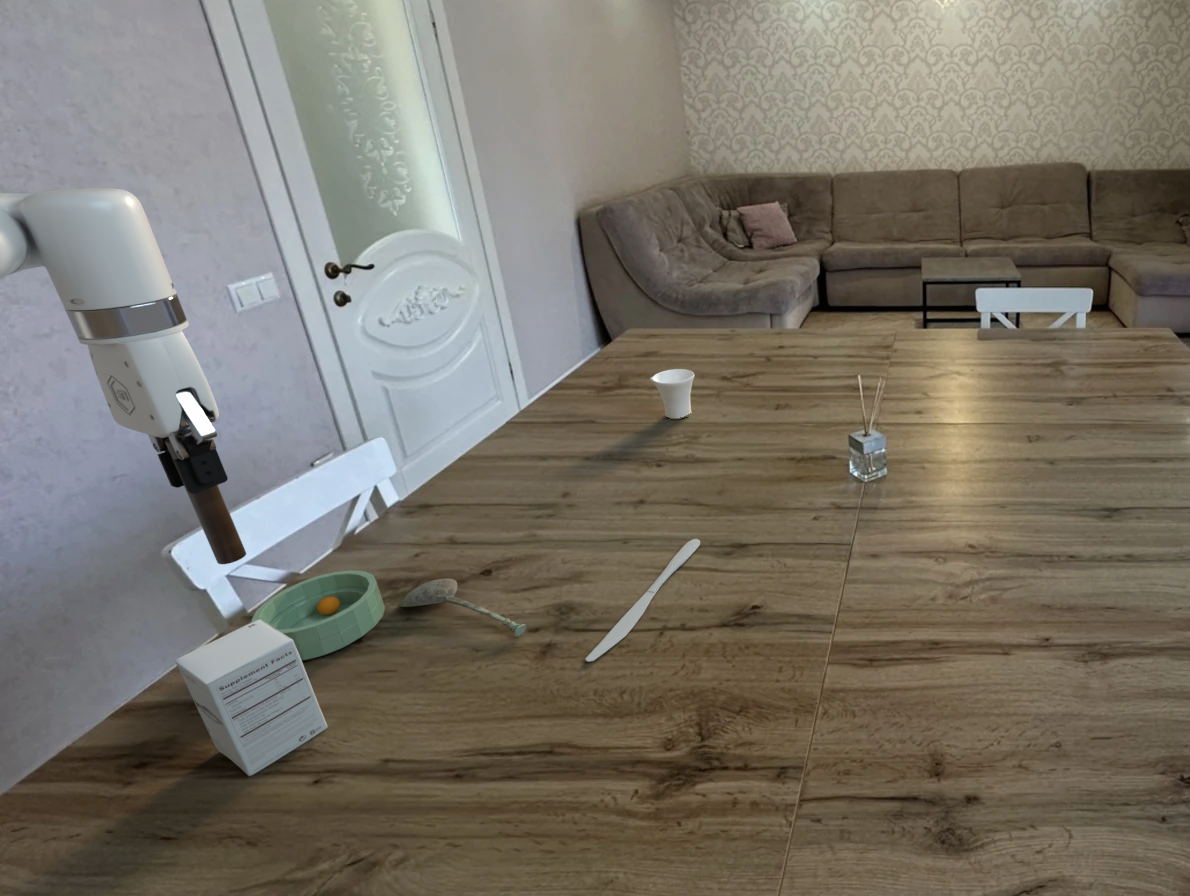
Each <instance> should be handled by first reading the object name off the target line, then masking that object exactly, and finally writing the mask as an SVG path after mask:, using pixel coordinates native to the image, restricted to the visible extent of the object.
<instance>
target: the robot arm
mask: <svg viewBox="0 0 1190 896" xmlns="http://www.w3.org/2000/svg"><path fill="white" fill-rule="evenodd" d="M42 267H44V268H45V269H46V271H47V273H48V276H49V277H50V280H51V282H52V284H53V286H54V288H55V291H56V293H57V296H58V297H59V299H60V301H61V305H62V306H63V309H64V311H65V313H66V316H67V317H68V320H69V322H70V324H71V327H72V328H73V330H74V332H75V336H76V337H77V340H78V342H79V343H80V344H81V345H87V348H88V349H87V350H88V353H89V356H90V359H91V363H92V365H93V369H94V371H95V374H96V378H97V380H98V382H99V385H100V387H101V391H102V393H103V395H104V398H105V401H106V403H107V405H108V408H109V411H110V413H111V416H112V418H113V420H114V421H115V423H116V424H117V425H119V426H121V427H122V428H123V427H124V428H127V429H129V430H132V431H134V432H138V433H141V434H145V435H147V436H148V438H149V440H150V442H151V445H152V447H153V449H154V451H156V453H157V454H156V455H157V457H158V460H159V462H160V464H161V467H162V468H163V471H164V473H165V475H166V478H167V479H168V483H169V484H170V486H171V487H174V488H177V489H178V488H182V487H184V485H185V487H186V489H187V491H188V492H190V493H197V492H200V491H203V490H205V489H208V488H211V487H213V486H216V485H218V486H219V485H222V484H223V483H226V482H227V481H228V475H227V473H226V470H225V468H224V466H223V465H224V464H223V463H222V461H221V460H222V459H221V458H220V455H219V452H218V451H217V445H216V442H215V440H214V439H216V438H217V437H218V432H217V431H216V429H215V428H214V426H213V425H212V424H213V423H215V422H216V421H217V420H218V419H219V417H220V412H219V408H218V404H217V402H216V398H215V396H214V393H213V391H212V389H211V386H210V384H209V382H208V379H207V377H206V375H205V373H204V370H203V368H202V367H201V364H200V362H199V361H198V358H197V356H196V354H195V351H194V350H193V348H192V347H191V345H190V343H189V341H188V339H187V337H186V335H185V333H184V332H183V330H185V329H187V328H189V326H190V323H189V321H188V320H189V319H187V316H186V314H185V311H184V308H183V306H182V303H181V300H180V298H179V296H178V292H177V290H176V288H175V286H174V283H173V281H172V278H171V276H170V273H169V271H168V268H167V266H166V262H165V259H164V258H163V255H162V252H161V250H160V248H159V245H158V242H157V239H156V238H155V235H154V232H153V230H152V227H151V225H150V222H149V219H148V217H147V214H146V212H145V209H144V208H143V205H142V203H141V201H140V200H139V198H138V197H136V195H135V194H133V193H132V192H130V191H127V190H125V189H122V188H116V187H115V188H114V187H83V188H67V189H55V190H54V189H53V190H45V191H39V192H35V193H11V192H10V193H9V192H8V193H5V192H0V281H2V280H3V279H5V278H7V277H8V276H11V275H13V274H17V273H19V272H21V271H24V270H25V271H26V270H29V269H35V268H42ZM188 433H191V435H189V436H186V437H185V439H184V442H183V440H182V438H181V435H184V434H188ZM168 438H169V439H170V442H171V444H172V446H173V448H174V450H175V453H176V455H177V456H178V459H175V460H174V462H175V464H176V466H177V469H178V471H179V473H180V475H181V478H182V480H183V482H184V485H183V482H182V480H181V478H180V475H179V473H178V471H177V469H176V466H175V464H174V462H173V459H172V457H171V455H170V452H169V450H168V448H167V446H166V443H165V440H166V439H168ZM185 487H184V488H185ZM186 489H185V490H186Z"/></svg>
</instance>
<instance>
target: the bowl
mask: <svg viewBox="0 0 1190 896" xmlns="http://www.w3.org/2000/svg"><path fill="white" fill-rule="evenodd" d="M326 597H336V598H337V599H338V600H339V601H340V607H339V609H338V610H337V611H336V612H335V613H333V614H331V615H322V614H320V613H319V612H318V610H317V606H318V603H319V602H320V601H321V600H322V599H324V598H326ZM385 610H386V606H385V603H384V600H383V596H382V594H381V591H380V588H379V585H378V582H377V580H376V578H375V576H374V574H372V573H369V572H367V571H364V570H353V569H352V570H351V569H350V570H343V571H341V570H340V571H334V572H329V573H325V574H321V575H317V576H313V577H311V578H308V579H306V580H303V581H300V582H298V583H296V584H293V585H291V586H289V587H287V588H285V589H283V590H281V591H279V592H278V593H276V594H275V595H273V596H272V597H270V598H268V599H267V600H265V602H264V603H263V604H262V605H260V606H259V607H258V609H256V610H255V612H254V614H253V615H252V618H251V620H250V623H252V622H254V621H257V620H260V619H261V620H262V621H263V622H265V623H267V624H268V625H270V626H272V627H273V628H275V629H277V630H278V631H280V632H281V633H283V634H284V635H286V636H288V637H289V638H291V639H292V640H293V641H294V644H295V646H296V648H297V650H298V653H299V655H300V658H301V660H302V661H307V660H311V659H315V658H319V657H323V656H327V655H328V654H332V653H334V652H337V651H338V650H341V649H343V648H345V647H347V646H349V645H351V644H352V643H355V641H358V639H359V640H360V638H362V637H364V636H365V635H367V633H368V632H370V631H371V630H372V629H374V628H375V627H376V626H377V624H378V623H379V622H380V621H381V619H382V618H383V617H384V614H385Z"/></svg>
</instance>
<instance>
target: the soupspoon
mask: <svg viewBox="0 0 1190 896" xmlns="http://www.w3.org/2000/svg"><path fill="white" fill-rule="evenodd" d="M457 591H458V581H456V579H453V578H437V579H434V580H429V581H427V582H425V583H423V584H420V585H418V586H417V587H415V588H414V589H412V590H411V591H410V592H408V593H407V594H406V595H405V596H404V598H403V599H402V600H401V601H400V603H399V607H401V608H411V607H419V606H427V605H434V604H439V603H440V604H441V603H451V604H454V605H457V606H461V607H464V608H466V609H469V610H472V611H474V612H477V613H480V614H482V615H485V616H487V617H489V618H492V619H494V620H496V621H498V622H500V623H502V625H503V626H506V627H507V628H508V629H510V630H511V632H512V633H513V636H514V638H519V637H521V636H523V634H524V633H525V631H526V630H527V627H528V626H527V624H525V623H523V624H520V623H516V622H515V621H512V620H511V619H510V618H506V617H504V616H502V615H500V614H498V613H496V612H494V611H491V610H489V609H488V608H487V609H486V608H484V607H481V606H479V605H477V604H474V603H471V602H469V601H467V600H464V599H461V598H458V597H455V594H456V593H457Z"/></svg>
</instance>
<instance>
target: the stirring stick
mask: <svg viewBox="0 0 1190 896" xmlns="http://www.w3.org/2000/svg"><path fill="white" fill-rule="evenodd" d="M191 433H192V432H191ZM191 433H188V434H184V435H181V438H182V440H183V442H184V439H185V437H186V436H189V435H191ZM165 443H166V446H167V448H168V450H169V452H170V455H171V457H172V459H173V462H174V460H175V459H178V456H177V455H176V453H175V450H174V448H173V446H172V444H171V442H170V439H169V438H168V439H166V440H165ZM174 464H175V462H174ZM175 466H176V464H175ZM176 469H177V466H176ZM177 471H178V469H177ZM178 473H179V471H178ZM179 475H180V473H179ZM180 478H181V475H180ZM181 480H182V478H181ZM182 482H183V480H182ZM183 485H184V482H183ZM183 487H184V489H185V492H186V494H187V495H188V496H187V497H188V499H189V501H190V503H191V506H192V508H193V510H194V512H195V514H196V517H197V520H198V521H199V523H200V527H201V528H202V530H203V533H204V535H205V537H206V540H207V542H208V545H209V546H210V549H211V551H212V554H213V556H214V559H215V561H216V563H217V564H219V565H229V564H232V563H236V562H238V561H240V560H242V559H243V558H245V557H246V555H247V551H246V548H245V547H244V544H243V542H242V539H241V537H240V535H239V532H238V530H237V527H236V525H235V522H234V520H233V518H232V515H231V513H230V510H229V508H228V506H227V502H226V500H225V498H224V496H223V493H222V492H221V491H222V490H221V489H220V486H219V485H216V486H213V487H211V488H208V489H205V490H203V491H200V492H197V493H190V492H188V491H187V489H186V487H185V485H184V486H183Z"/></svg>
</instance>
